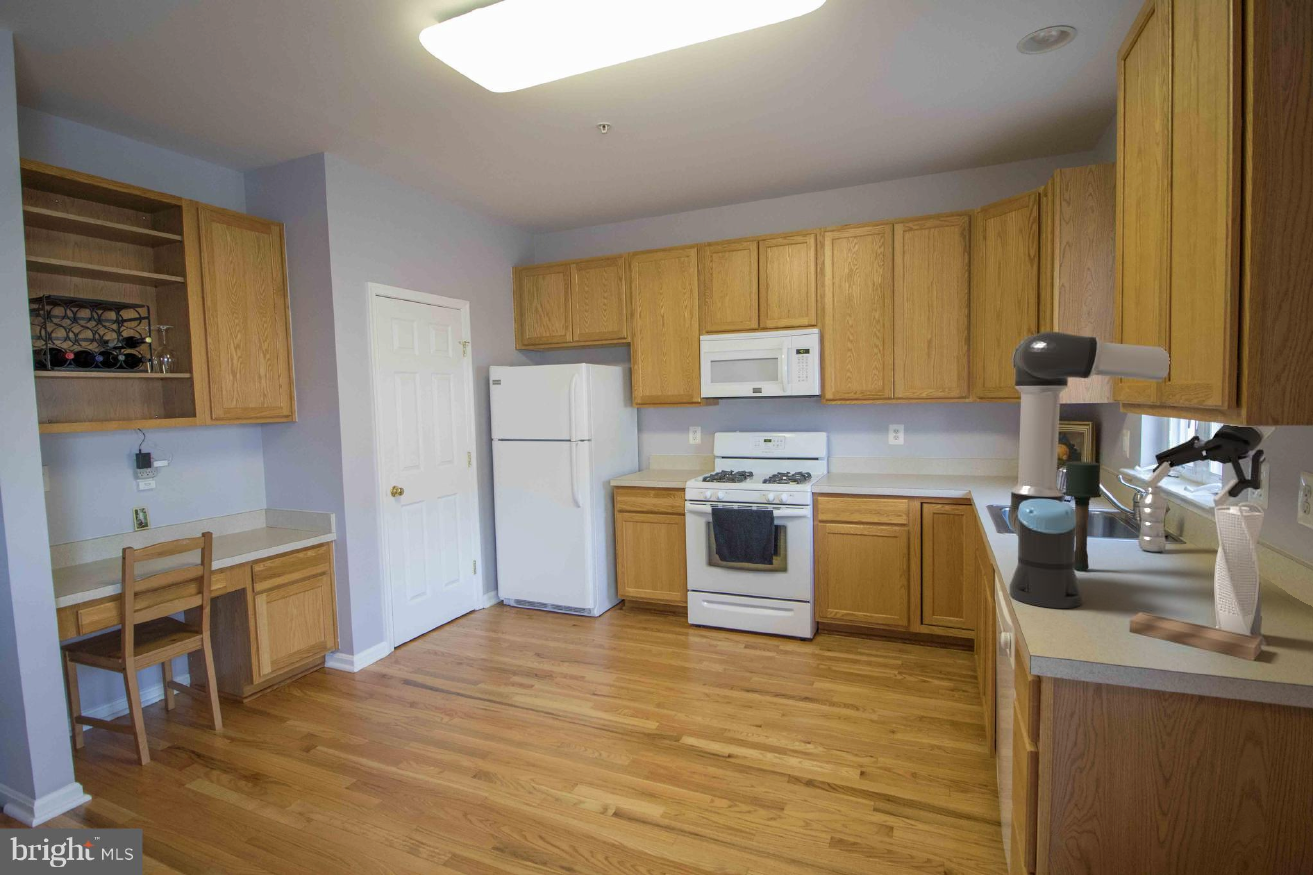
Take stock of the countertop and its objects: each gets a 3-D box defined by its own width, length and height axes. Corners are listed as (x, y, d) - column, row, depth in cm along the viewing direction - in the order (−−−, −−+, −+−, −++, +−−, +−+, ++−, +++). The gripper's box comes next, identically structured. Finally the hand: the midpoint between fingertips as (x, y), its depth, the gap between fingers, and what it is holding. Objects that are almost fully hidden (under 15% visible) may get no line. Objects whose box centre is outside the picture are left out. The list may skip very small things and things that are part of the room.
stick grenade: (1106, 574, 171) (1109, 464, 169) (1074, 574, 171) (1077, 465, 169) (1086, 565, 180) (1088, 461, 177) (1055, 566, 180) (1057, 461, 178)
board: (1129, 631, 131) (1129, 619, 131) (1140, 623, 135) (1140, 611, 135) (1253, 660, 116) (1254, 646, 116) (1261, 650, 121) (1261, 637, 120)
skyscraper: (1267, 647, 122) (1273, 504, 120) (1211, 639, 126) (1217, 501, 125) (1260, 634, 128) (1266, 498, 126) (1208, 626, 133) (1212, 495, 131)
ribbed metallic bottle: (1163, 555, 188) (1165, 489, 187) (1135, 551, 193) (1137, 486, 192) (1167, 551, 193) (1169, 486, 191) (1140, 547, 198) (1142, 484, 196)
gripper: (1316, 458, 134) (1251, 525, 131) (1186, 432, 156) (1129, 487, 154) (1310, 433, 131) (1244, 500, 128) (1179, 409, 153) (1120, 466, 151)
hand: (1181, 493), depth 141 cm, fingers open, 13 cm apart
